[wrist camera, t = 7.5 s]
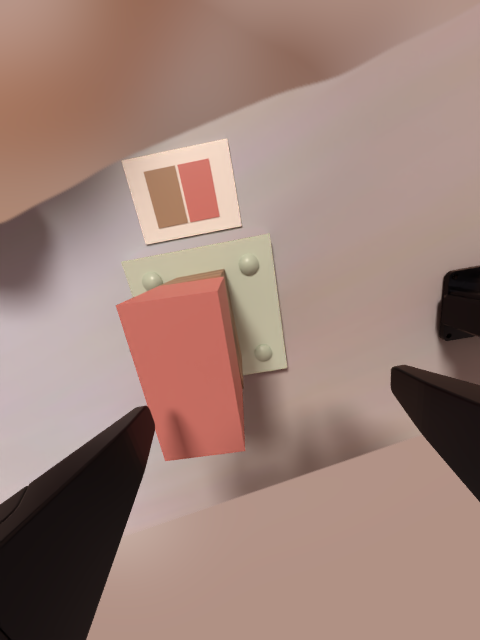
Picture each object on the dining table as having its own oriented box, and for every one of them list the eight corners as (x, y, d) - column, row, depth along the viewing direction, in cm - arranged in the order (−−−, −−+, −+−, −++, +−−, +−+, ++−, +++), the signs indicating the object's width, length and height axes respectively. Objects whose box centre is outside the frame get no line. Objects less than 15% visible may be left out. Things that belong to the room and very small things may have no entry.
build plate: (267, 234, 18) (269, 233, 17) (285, 362, 22) (287, 369, 21) (127, 261, 19) (120, 262, 18) (166, 383, 22) (162, 390, 21)
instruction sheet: (227, 139, 16) (227, 138, 16) (241, 226, 18) (241, 225, 18) (122, 161, 17) (120, 160, 16) (146, 244, 18) (145, 244, 18)
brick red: (158, 286, 13) (115, 305, 9) (223, 276, 13) (217, 290, 9) (186, 397, 16) (165, 460, 11) (242, 390, 16) (245, 451, 11)
